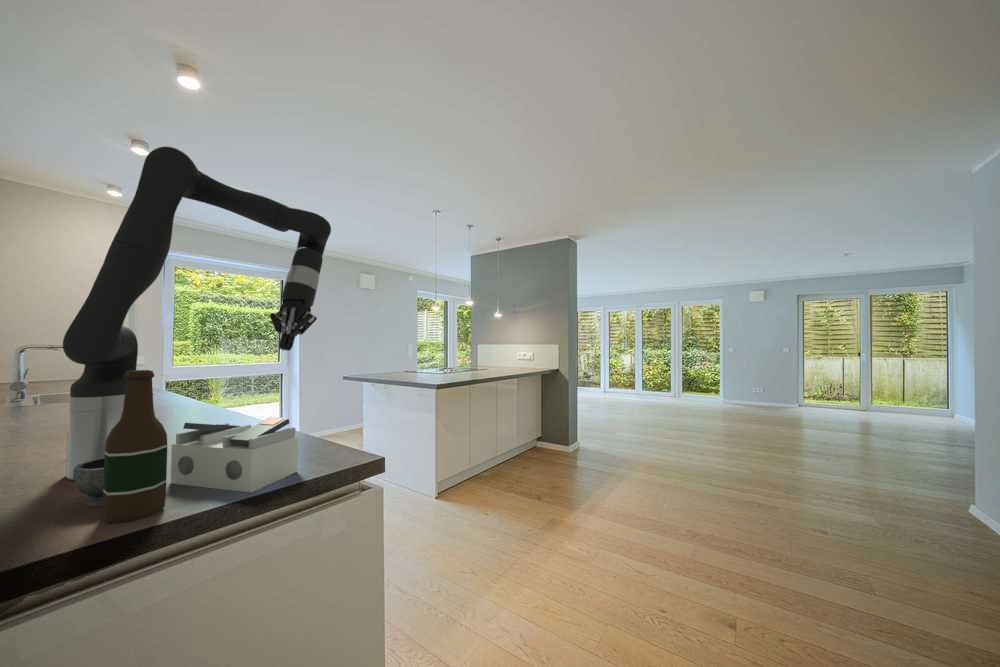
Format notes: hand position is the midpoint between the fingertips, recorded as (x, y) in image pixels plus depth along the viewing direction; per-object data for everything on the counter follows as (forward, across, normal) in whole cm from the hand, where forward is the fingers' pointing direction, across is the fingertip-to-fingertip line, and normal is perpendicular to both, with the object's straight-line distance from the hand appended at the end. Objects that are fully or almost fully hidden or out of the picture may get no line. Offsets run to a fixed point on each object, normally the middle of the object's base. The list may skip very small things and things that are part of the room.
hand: (284, 349), depth 95 cm
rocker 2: (+20, +8, -8) cm, 23 cm away
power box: (+30, +2, -6) cm, 30 cm away
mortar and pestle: (+34, -10, -19) cm, 40 cm away
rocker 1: (+20, -4, -8) cm, 22 cm away
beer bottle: (+35, +1, -23) cm, 42 cm away
